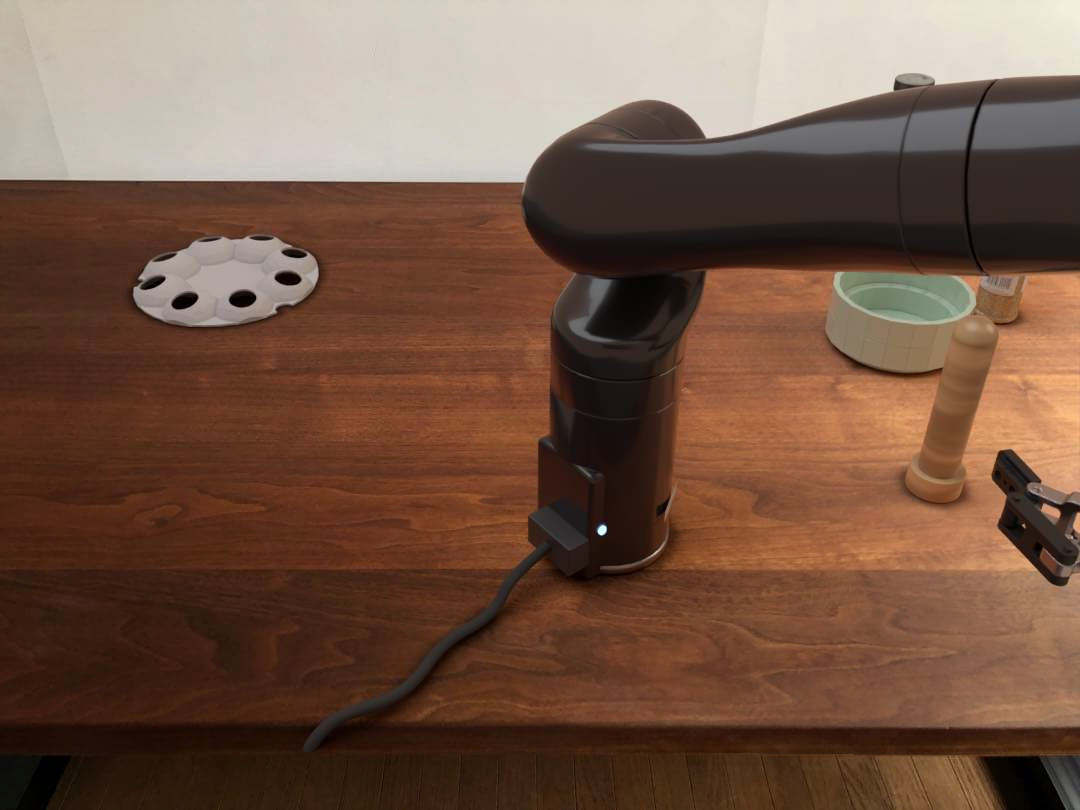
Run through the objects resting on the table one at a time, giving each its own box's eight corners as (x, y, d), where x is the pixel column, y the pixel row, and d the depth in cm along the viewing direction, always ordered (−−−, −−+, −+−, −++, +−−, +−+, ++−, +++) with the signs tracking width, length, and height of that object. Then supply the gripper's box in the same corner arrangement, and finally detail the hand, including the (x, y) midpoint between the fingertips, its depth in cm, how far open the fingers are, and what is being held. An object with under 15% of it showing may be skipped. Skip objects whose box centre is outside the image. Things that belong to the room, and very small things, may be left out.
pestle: (939, 510, 84) (989, 339, 75) (893, 482, 87) (936, 315, 78) (971, 489, 86) (1024, 320, 77) (926, 462, 89) (971, 297, 80)
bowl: (906, 394, 98) (920, 339, 94) (796, 335, 106) (805, 282, 103) (988, 348, 104) (1004, 295, 101) (878, 296, 113) (889, 245, 109)
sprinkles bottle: (1025, 317, 109) (1063, 196, 101) (997, 329, 107) (1033, 207, 99) (988, 298, 112) (1022, 180, 105) (960, 310, 110) (992, 190, 102)
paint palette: (259, 341, 105) (256, 323, 103) (94, 308, 110) (89, 291, 109) (350, 255, 120) (348, 239, 119) (201, 230, 125) (198, 214, 124)
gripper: (1375, 558, 57) (1168, 392, 70) (1142, 598, 55) (973, 419, 68) (1316, 653, 61) (1132, 480, 74) (1098, 694, 59) (948, 508, 72)
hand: (1057, 451), depth 71 cm, fingers open, 8 cm apart
